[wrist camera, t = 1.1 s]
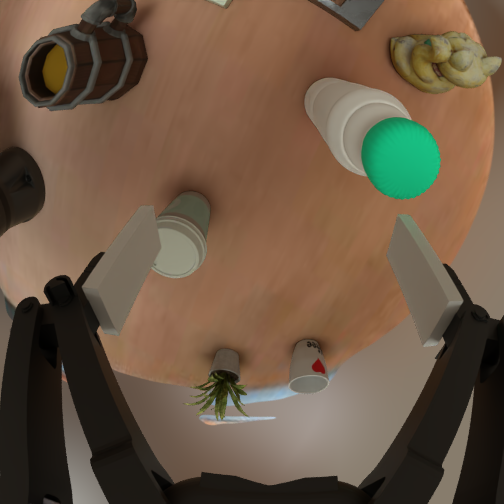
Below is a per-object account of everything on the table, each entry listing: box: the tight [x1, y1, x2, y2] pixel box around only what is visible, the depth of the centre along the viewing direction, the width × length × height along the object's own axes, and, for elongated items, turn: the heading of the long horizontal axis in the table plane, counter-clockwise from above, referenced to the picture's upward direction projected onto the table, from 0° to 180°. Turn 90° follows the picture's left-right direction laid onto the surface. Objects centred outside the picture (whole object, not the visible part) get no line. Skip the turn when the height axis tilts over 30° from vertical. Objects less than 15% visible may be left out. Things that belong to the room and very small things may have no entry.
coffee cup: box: [151, 191, 211, 278], centre depth 40 cm, size 9×9×12 cm
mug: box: [19, 0, 148, 111], centre depth 24 cm, size 16×12×15 cm
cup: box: [289, 339, 329, 394], centre depth 59 cm, size 8×8×10 cm
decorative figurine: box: [390, 31, 502, 94], centre depth 23 cm, size 10×8×15 cm
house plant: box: [186, 349, 250, 420], centre depth 59 cm, size 14×14×16 cm
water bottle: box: [304, 78, 441, 200], centre depth 24 cm, size 7×7×25 cm
